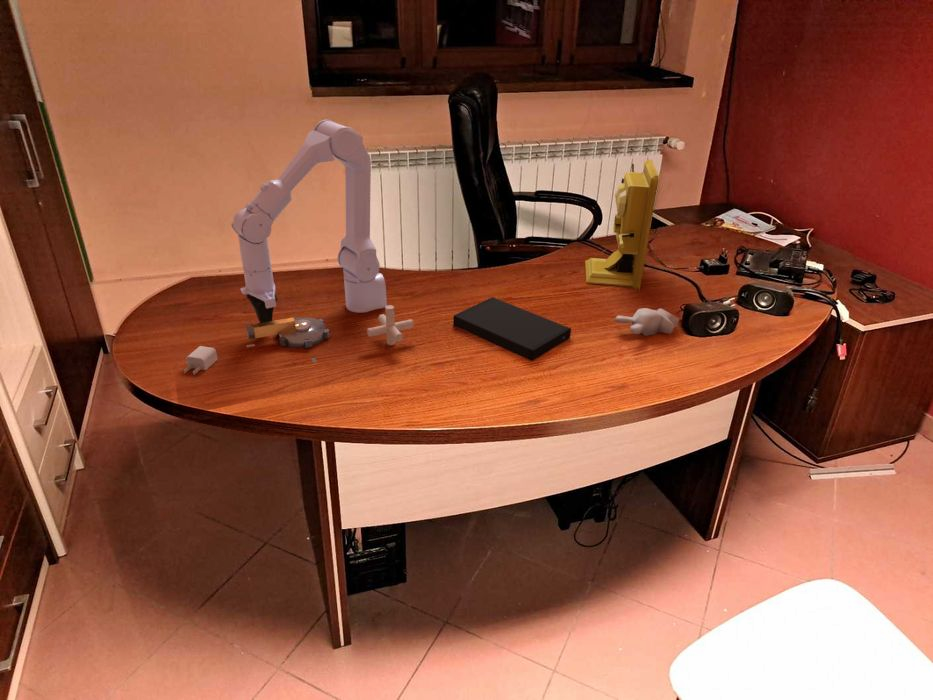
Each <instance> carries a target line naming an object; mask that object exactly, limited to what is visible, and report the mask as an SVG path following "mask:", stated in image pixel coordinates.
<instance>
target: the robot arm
mask: <svg viewBox="0 0 933 700" xmlns="http://www.w3.org/2000/svg"><path fill="white" fill-rule="evenodd" d="M336 159H337V160H338V161H339V162H340V163H341V164H342V165H343V166H344V167H345V168H344V170H345V236H344V237H343V238H342V239H341V240H340V249H339V250H338V253H337V258H336V259H337V263H338V265H339V266H340V267H341V268H342V269H343V272H342V273H343V281H344V283H343V284H344V293H345V294H344V295H345V296H344V297H345V307H346V309H347V310H348V311H350V312H353V313H368V312H370V311H374V310H379V309H385V307H386V306H388V303H387V302H388V301H387V286H386V281H385V280H386V279H385V277H384V276H383V273H380V267H381V266H380V261H379V259H378V256H377V249H376V246H375V244H374V243H373V241H372V239H371V175H372V174H371V171H372V170H371V169H372V167H371V164H372V163H371V161H372V160H371V157H370V155H369V152H368V151H367V148H366V146H365V144H364V138H363V136H362V135H361V134H360V133H358V131H356V130H355V129H354V128H353V127H350V126H345V125H342V124H340V123H337V122H334V121H333V120H331V119H322V120H320V121H319V122H317V123H316V125H315V126H314V128H313V129H312V130H310V131H309V132H308V133H307V136H306V138H305V141H304V142H303V144H302V146H301V147H300V149H299V150H298V151H297V152H296V154H295V155H294V157H293V158H292V160H291V161H290V162H289V164H288V165H287V166H286V167H285V168H284V171H283V172H282V173H281V175H280V176H279V177H278V178H277V179H271V180H268V181H267V182H266V183H264V182H262V183H261V184H260V186H259V189H260V190H259V192H258V193H257V194H256V195H255V196H254V197H253V199H252V200H251V201H250V202H249V203H248V202H247V203H246V205H244V208H243V209H240V210H238V211H237V212H236V213H235V214H234V216H233V221H232V223H231V228H232V230H233V231H234V233H236V234H237V238H238V243H239V251H240V257H241V264H242V269H243V275H244V282H245V287H240V292H241V293H242V295H245V296H246V298H247V300H248V301H249V302H250V303H251V305H252V307H253V309H254V312H255V313H256V318H257V320H258V322H259V323H263V322H269V321H273V315H274V308H276V307H277V301H278V296H277V295H276V284H275V282H274V275H273V269H272V262H271V254H270V252H271V251H270V246H269V241H268V238H269V237H270V235H271V233H272V225H273V224H274V222H275V220H276V219H277V218H278V217H279V216H280V214H281V213H282V212H283V211H284V209H286V207H288V205H289V204H290V202H291V201H292V198H293V197H292V191H293V189H294V188H295V187H297V185H298V184H299V183H300V182H301V181H302V180H303V179H304V178H305V177H306V176H307V175H308V174H309V173H310V171H312V169H314V167H315V166H317V164H318V163H327V162H333V161H334V162H335V161H336Z"/></svg>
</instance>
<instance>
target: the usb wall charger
mask: <svg viewBox="0 0 933 700" xmlns="http://www.w3.org/2000/svg"><path fill="white" fill-rule="evenodd" d="M218 358H219V357H218V353H217V350H216V348H214V347H209V346H203V345H199V346H198V347H197V348H195V349H194V350H193V351H192V352H191V353H190V354H188V356H186V357H185V361H186V364H187V366H186V367H185V369H183V373H184V374H186V373H187V372H188V371H189V370H191V369H194V370H193V371H192V373H193V375H195V374H197V373H198V372H199V371H200V370H201V371H202V370H203V371H207V370H208V369H209V368H210V367H211V366H212V365H213V364H214V363H216V362H217V361H218Z"/></svg>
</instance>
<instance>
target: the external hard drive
mask: <svg viewBox="0 0 933 700" xmlns="http://www.w3.org/2000/svg"><path fill="white" fill-rule="evenodd" d="M453 327H456V328H458V329H460V330H463V331H465V332H466V333H469V334H471V335H473V336H475V337H477V338H479V339H482V340H484V341H486V342H489V343H491V344H493V345H495V346H498V347H500V348H502V349H503V350H506V351H508V352H511V353H513V354H514V355H517V356H520V357H521V358H524V359H526V360H528V361H530V362H533V361H535V360H537V359H538V358H540V357H541V356H544V355H545V354H547V353H548V352H549V351H551V350H553V349H555V348H556V347H558V346H560V345H561V344H563V343H565V342H567V341H568V340H569V339H571V333H572V328H571V327H568V326H565V325H563V324H561V323H558V322H555V321H553V320H550V319H548V318H546V317H543V316H541V315H538V314H535V313H533V312H531V311H528V310H525V309H523V308H522V307H519V306H516V305H514V304H510V303H509V302H507V301H503V300H500V299H499V298H496V297H493V296H492V297H490V298H488V299H485V300H484V301H481V302H479V303H478V304H475V305H473V306H471V307H468V308H466V309H464V310H462V311H460V312H458V313H456V314H453Z"/></svg>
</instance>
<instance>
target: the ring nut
mask: <svg viewBox="0 0 933 700" xmlns="http://www.w3.org/2000/svg"><path fill="white" fill-rule="evenodd" d="M245 328H246V334H247V339H248V340H254V339H258V338H265V337H270V336H279V344H280V346H283V347H284V348H285V347H286V346H287V347H290V348H305V349H309V348H313V346H316V345H318V344H320V343H322V342H323V341H324V340H325V339H327V340H328V339H329V338H330V336H331V335H330V333H331V332H330V329H329V328H327V327H326V323H325V319H322V318H314V317H300V316H299V317H288V318H282V319H276V320H272V321H269V322H263V323H260V322H259V323H250V324H247V325H246V326H245Z"/></svg>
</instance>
